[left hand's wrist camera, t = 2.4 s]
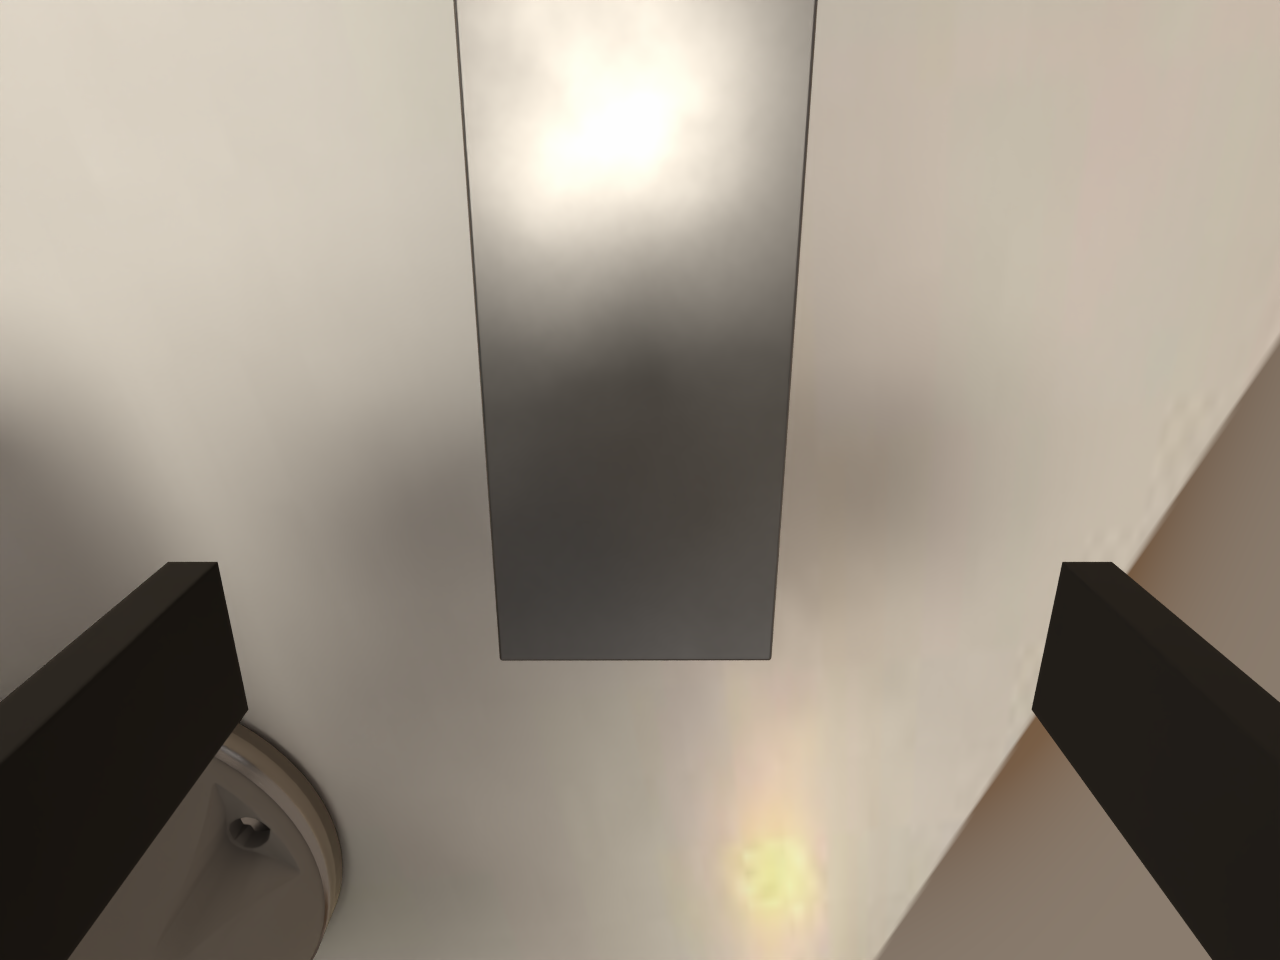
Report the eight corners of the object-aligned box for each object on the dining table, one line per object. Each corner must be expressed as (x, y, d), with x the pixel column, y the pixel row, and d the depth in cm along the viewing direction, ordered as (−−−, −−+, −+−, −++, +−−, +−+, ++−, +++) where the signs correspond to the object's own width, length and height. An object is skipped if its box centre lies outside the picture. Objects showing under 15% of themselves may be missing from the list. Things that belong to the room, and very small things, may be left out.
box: (730, 512, 27) (771, 661, 19) (540, 512, 27) (499, 661, 19) (781, -611, 17) (909, -1288, 9) (488, -613, 17) (360, -1295, 9)
